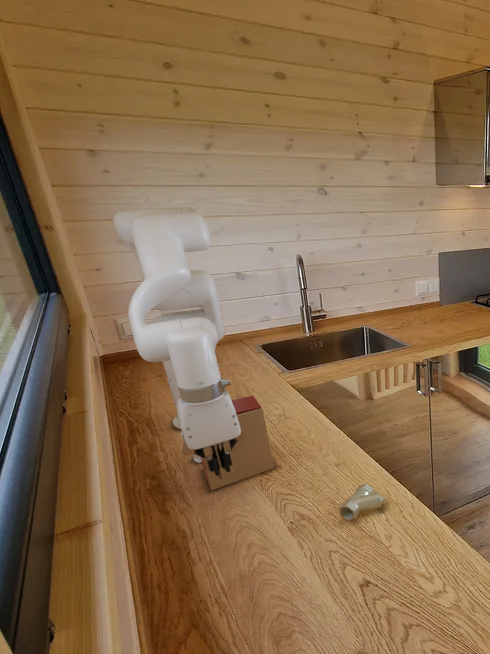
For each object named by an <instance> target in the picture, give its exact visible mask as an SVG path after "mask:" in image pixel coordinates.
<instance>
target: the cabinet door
mask: <svg viewBox="0 0 490 654" xmlns="http://www.w3.org/2000/svg"><path fill="white" fill-rule="evenodd" d="M237 418H238V421H239V425H240V428H241V429H242V430H243V432H244V433H245V434H246V436H245V438H243V439H242V440H240V441H238V442H237V443H236V444H235V446H234V447H233V448H232V450H231V453H230V457H231V461H232V465H231V466H230V470H231V471H230V472H227V471H226V470H225V468H224V464H223V460H222V456H221V452H220V451H221V449H222V446H221V443H218V444H215V445H211V446H209V447H210V450H211V452H212V454H213V455H214V456H215V458H216V461H217V465H218V469H219V473H220V474H219V475H218V476H216V475H215V473H214V471H212V472H210V470H209V466H208V462H207V459H206V458H203V457H202V458H203V462H204V465H205V469H206V473H207V477H208V481H209V483H208V485H209V484H210V486H209V488H210V490H211V491H214V490H216V489H219V488H223V487H226V486H228V485H230V484H234V483H236V482H239V481H242V480H245V479H247V478H250V477H253V476H256V475H258V474H262V473H264V472H267V471H270V470H272V469H275V465H274V459H273V454H272V450H271V443H270V439H269V434H268V430H267V429H268V428H267V425H266V419H265V414H264V409H263V408H262V407H261V408H259V409H256V410H252V411H249V412H245V413H242V414H238V415H237ZM208 481H207V482H208Z"/></svg>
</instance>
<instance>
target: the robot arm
mask: <svg viewBox="0 0 490 654" xmlns="http://www.w3.org/2000/svg"><path fill="white" fill-rule="evenodd" d="M112 222H113V227H114V229H115V232H116V233H117V235H118V236H119V238H120V239H121V240H122V242H123V243H124V244H125V245H126V246H127V248H128V249H129V250H130V252H132V254H133V255H134V257H135V259H136V261H137V264H138V267H139V270H140V274H141V278H142V282H141V283H140V285H138V286H137V288H136V290H135V291H134V292H133V295H132V296H131V299H130V301H129V304H128V322H129V325H130V330H131V333H132V337H133V341H134V345H135V348H136V350H137V353H138V354H139V356H140V357H141V358H142V359H143V360H144V361H146V362H149V363H161V362H162V365H163V368H164V371H165V376H166V379H167V383H168V386H169V390H170V393H171V397H172V401H173V404H174V408H175V412H176V416H175V417H174V418H173V420H172V424H173V427H174V428H176V429H179V430H180V431H181V432H182V436H183V438H182V440H183V439H184V440H183V443H182V449H181V451H182V454H183V455H184V456H192V455H198V456H201V457H203V458H206V459H207V462H208V466H209V470H210V472H212V471H214V473H215V475H216V476H218V475H219V474H220V473H219V469H218V465H217V461H216V458H215V456H214V455H213V454H212V452H211V450H210V447H209V446H211V445H215V444H218V443H221V446H222V449H221V451H220V452H221V456H222V460H223V464H224V468H225V470H226V471H227V472H230V471H231V470H230V466H231V465H232V461H231V457H230V453H231V450H232V448H233V447H234V446H235V444H236V443H237V442H238V441H240V440H242V439H243V438H245V436H246V434H245V433H244V432H243V430H242V429H241V428H240V425H239V421H238V418H237V414H236V411H235V408H234V405H233V403H232V400H233V399H232V398H231V396H230V394H229V392H228V390H227V389H226V388H227V387H228V386H231V385H232V384H231V380H230V378H223V377H221V372H220V367H219V363H218V358H217V354H216V351H215V350H216V349H217V344H218V343H219V341H221V340H222V339H224V338H225V325H224V318H223V314H222V309H221V305H220V299H219V293H218V289H217V286H216V282H215V280H214V278H213V277H212V276H213V275H212V274H210V273H209V272H208V271H206V270H203V269H193V270H191V269H190V266H189V263H188V261H187V258H186V254H185V253H193V252H194V253H195V252H204V251H205V252H206V251H207V250H208V249H210V246H211V234H210V230H209V227H208V224H207V222H206V220H205V219H204V217H203V216H202V215H201V214H200V212H198V211H197V210H196V209H194V208H193V207H189V206H188V207H187V206H186V207H153V208H149V207H147V208H132V209H130V208H129V209H125V210H121V211H118V212H116V213H115V214H114V215H113V217H112ZM193 308H198V309H193ZM153 309H154V310H156V311H160V312H166V313H163V314H160V315H157V316H155V317H154V318H152V319H151V320H150V322H149V323H147V315H148V314H149V312H150V311H151V310H153ZM185 309H186V310H185ZM188 309H190V310H188ZM181 310H182V311H181ZM170 311H173V312H170ZM181 432H180V433H181ZM182 436H181V437H182Z"/></svg>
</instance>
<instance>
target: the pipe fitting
mask: <svg viewBox="0 0 490 654" xmlns="http://www.w3.org/2000/svg"><path fill="white" fill-rule="evenodd" d="M386 500H387V499H386V496H384V495H383V494H380V492H378V491H377V492H375V491H374V488H373V487H372V486H371V485H369V484H367V483H363V484H360V485H358V486H357V488H356V489H355V492H354V493H352V495H351V496H350V497H349V498H348V500H346V501H345V502H343V503H342V504H340V506H339V508H338V509H339V510H338V511H339V515H340V517H342V518H343V520H345V521H348V522H349V521H354V520H356V519H357V517H358V516H359V514H362V513H366V512H370V511H374V510H378V509H382V505H384V504H385V502H386Z"/></svg>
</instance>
